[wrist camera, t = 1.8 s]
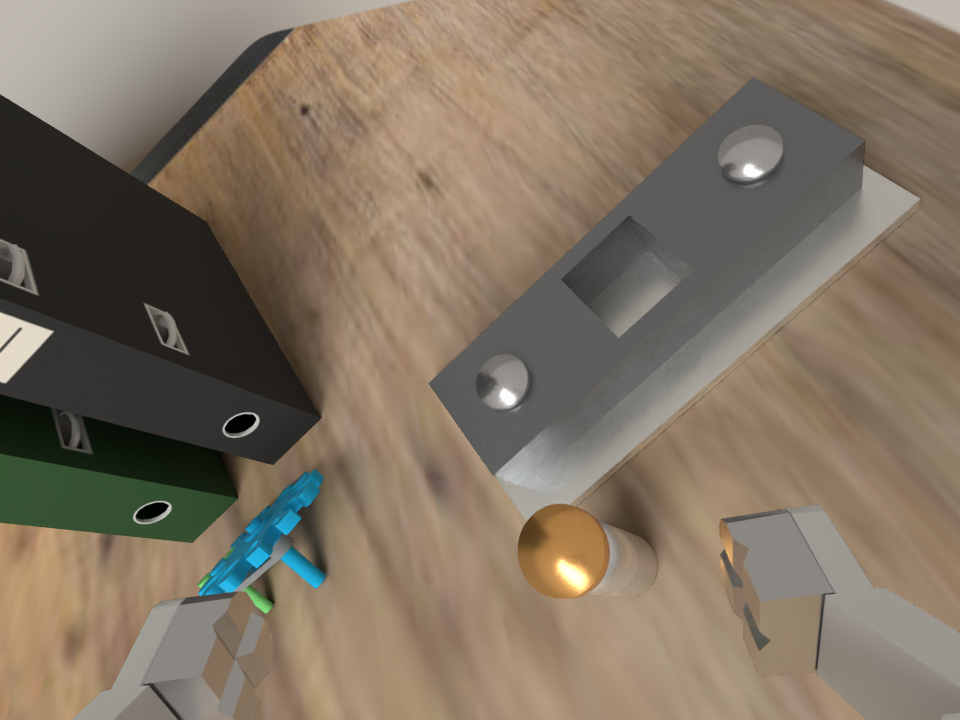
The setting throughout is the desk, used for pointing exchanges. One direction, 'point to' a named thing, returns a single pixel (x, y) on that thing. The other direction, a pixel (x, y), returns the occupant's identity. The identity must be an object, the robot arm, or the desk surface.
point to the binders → (123, 350)
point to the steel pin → (583, 555)
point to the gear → (267, 546)
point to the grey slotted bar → (668, 296)
